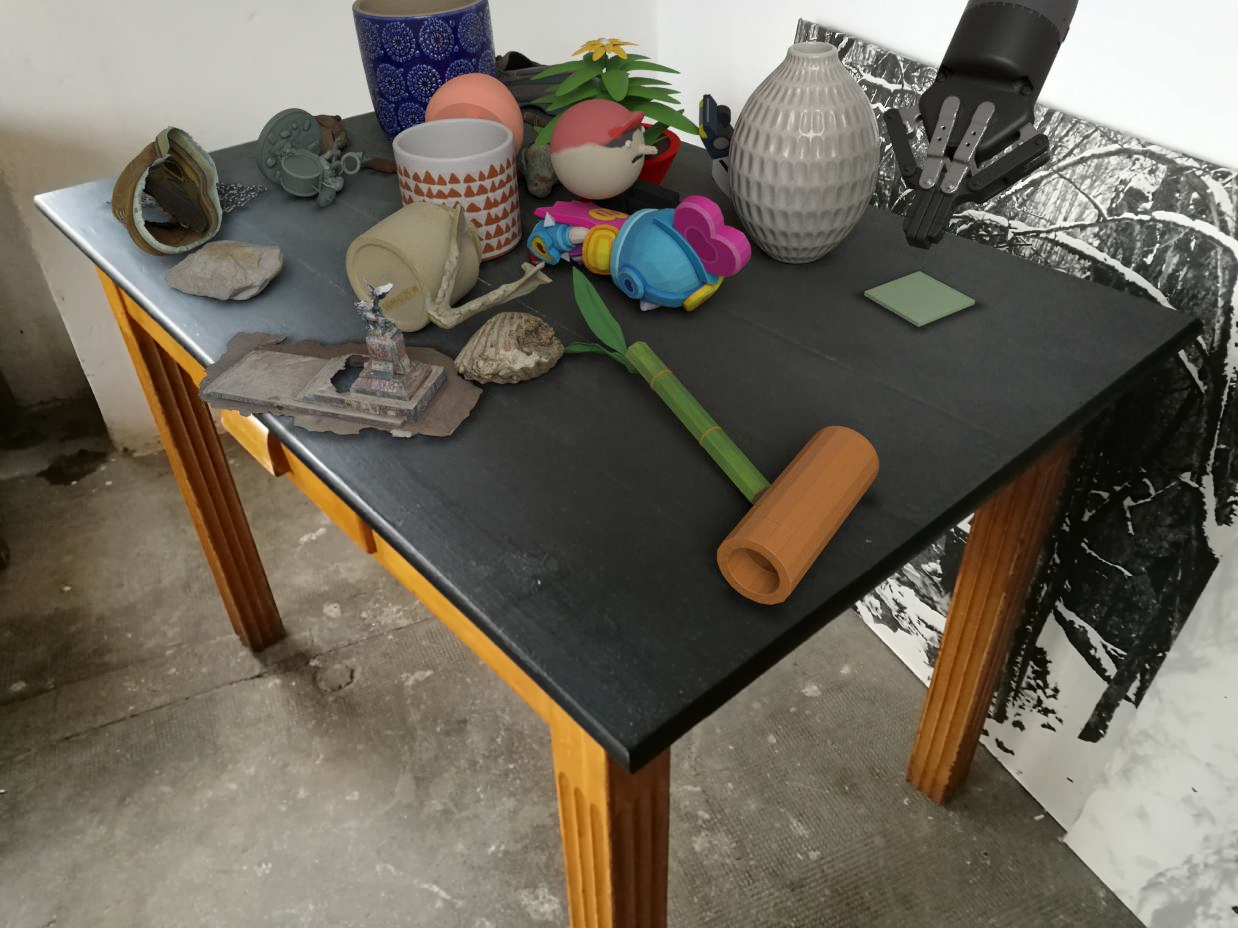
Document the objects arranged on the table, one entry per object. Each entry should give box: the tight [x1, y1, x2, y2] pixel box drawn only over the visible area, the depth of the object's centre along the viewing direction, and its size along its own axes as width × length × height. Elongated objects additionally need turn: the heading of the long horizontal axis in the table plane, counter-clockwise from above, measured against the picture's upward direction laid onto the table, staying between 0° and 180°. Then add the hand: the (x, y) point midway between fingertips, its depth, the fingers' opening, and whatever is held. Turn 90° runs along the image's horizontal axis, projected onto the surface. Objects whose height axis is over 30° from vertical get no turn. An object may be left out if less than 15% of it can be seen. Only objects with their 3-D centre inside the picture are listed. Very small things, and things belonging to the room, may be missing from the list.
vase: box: [728, 41, 881, 264], centre depth 99 cm, size 16×16×22 cm
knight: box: [526, 195, 752, 312], centre depth 96 cm, size 12×14×30 cm
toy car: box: [698, 93, 734, 200], centre depth 110 cm, size 5×16×5 cm
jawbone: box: [425, 203, 553, 330], centre depth 87 cm, size 12×13×8 cm
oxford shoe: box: [110, 125, 223, 257], centre depth 113 cm, size 28×10×11 cm
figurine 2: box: [313, 114, 348, 161], centre depth 139 cm, size 14×4×9 cm
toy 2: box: [592, 178, 682, 215], centre depth 104 cm, size 8×4×15 cm
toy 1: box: [550, 99, 658, 199], centre depth 97 cm, size 10×12×10 cm
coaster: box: [863, 270, 976, 328], centre depth 96 cm, size 8×8×1 cm
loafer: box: [496, 50, 604, 117], centre depth 148 cm, size 11×30×9 cm, turn 59°
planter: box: [351, 0, 498, 147], centre depth 129 cm, size 18×18×21 cm
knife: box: [360, 156, 397, 174], centre depth 126 cm, size 28×1×5 cm
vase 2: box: [392, 118, 523, 263], centre depth 108 cm, size 14×14×13 cm
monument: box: [197, 279, 484, 439], centre depth 85 cm, size 30×16×13 cm, turn 73°
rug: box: [105, 181, 269, 217], centre depth 126 cm, size 10×20×1 cm, turn 72°
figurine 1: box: [254, 107, 366, 208], centre depth 123 cm, size 11×11×12 cm
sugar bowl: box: [345, 202, 482, 333], centre depth 98 cm, size 15×11×15 cm
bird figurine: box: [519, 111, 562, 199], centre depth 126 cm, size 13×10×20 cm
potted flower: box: [530, 37, 699, 203], centre depth 111 cm, size 24×25×20 cm
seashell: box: [454, 311, 565, 385], centre depth 87 cm, size 11×7×10 cm
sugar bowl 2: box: [425, 73, 525, 158], centre depth 115 cm, size 12×14×10 cm
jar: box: [716, 425, 880, 606], centre depth 68 cm, size 6×6×15 cm
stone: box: [164, 239, 285, 301], centre depth 104 cm, size 14×6×10 cm
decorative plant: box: [563, 265, 772, 506], centre depth 81 cm, size 6×8×30 cm
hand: (917, 244), depth 68 cm, fingers closed
